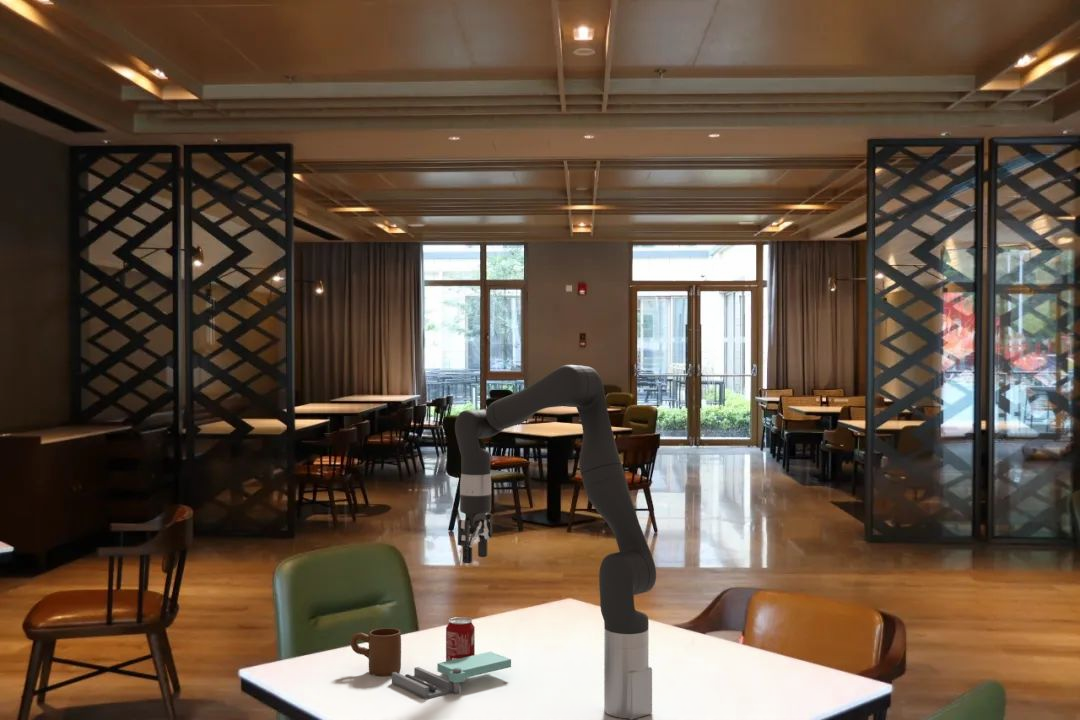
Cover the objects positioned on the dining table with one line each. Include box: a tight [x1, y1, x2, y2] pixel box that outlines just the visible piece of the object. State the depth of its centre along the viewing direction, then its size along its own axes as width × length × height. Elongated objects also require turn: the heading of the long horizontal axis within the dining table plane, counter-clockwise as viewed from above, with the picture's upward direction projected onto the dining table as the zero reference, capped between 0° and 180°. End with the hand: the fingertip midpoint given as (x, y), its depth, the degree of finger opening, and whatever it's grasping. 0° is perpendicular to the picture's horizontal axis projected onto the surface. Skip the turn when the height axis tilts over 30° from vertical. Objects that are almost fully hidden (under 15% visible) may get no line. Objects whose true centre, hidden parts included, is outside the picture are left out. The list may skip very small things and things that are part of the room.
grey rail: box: [391, 666, 461, 700], centre depth 217 cm, size 16×8×2 cm, turn 39°
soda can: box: [445, 616, 476, 662], centre depth 230 cm, size 7×7×12 cm
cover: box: [436, 651, 512, 684], centre depth 221 cm, size 17×10×2 cm, turn 129°
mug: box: [349, 627, 402, 677], centre depth 229 cm, size 12×8×9 cm, turn 89°
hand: (475, 559), depth 233 cm, fingers open, 8 cm apart
